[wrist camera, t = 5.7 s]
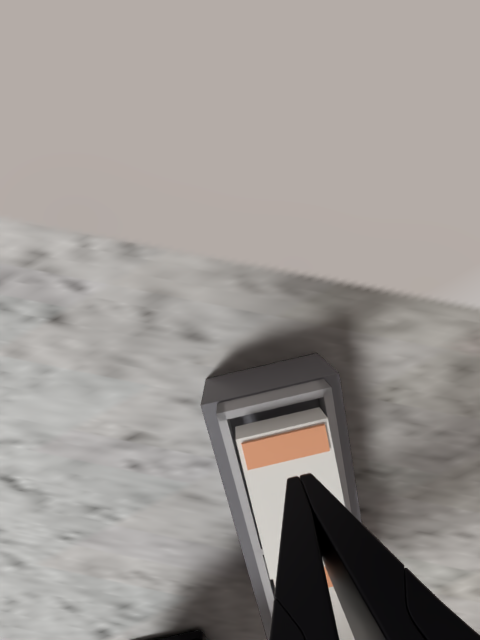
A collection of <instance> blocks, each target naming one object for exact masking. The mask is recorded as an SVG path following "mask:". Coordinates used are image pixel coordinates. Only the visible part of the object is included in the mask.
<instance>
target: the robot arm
mask: <svg viewBox="0 0 480 640" xmlns="http://www.w3.org/2000/svg"><path fill="white" fill-rule="evenodd" d="M322 559H323V560H322ZM323 562H324V564H323ZM324 565H325V567H326V570H327V572H328V575H329V577H330V580H331V582H332V585H333V587H334V589H335V592H336V594H337V597H338V599H339V602H340V604H341V607H342V609H343V612H344V614H345V617H346V619H347V621H348V624H349V626H350V629H351V631H352V634H353V636H354V639H355V640H480V635H479V634H478V633H476V632H475V631H474V630H473V629H472V628H471V627H470V626H468V625H467V624H466V623H465V622H464V621H463V620H462V619H460V618H459V617H458V616H457V615H456V614H455V613H454V612H453V611H451V610H450V609H449V608H448V607H447V606H446V605H445V604H444V603H443V602H442V601H441V600H439V599H438V598H437V597H436V596H435V595H434V594H433V593H432V592H431V591H430V590H429V589H428V588H427V587H426V586H425V585H424V584H423V583H422V582H421V581H420V580H419V579H418V578H417V577H416V576H415V575H414V574H413V573H412V572H411V571H410V570H409V569H407V568H404V565H403V564H402V563H401V562H400V561H399V560H398V559H397V558H396V557H395V556H394V555H393V554H392V553H391V552H390V551H389V550H388V549H387V548H386V547H385V546H384V545H383V544H382V543H381V542H380V541H379V540H378V539H377V538H376V537H375V536H374V535H373V534H372V533H371V532H370V531H369V530H368V529H367V528H366V527H365V526H364V525H363V524H362V523H361V522H360V521H359V520H358V519H357V518H356V517H355V516H354V515H353V514H352V513H351V512H350V511H349V510H348V509H347V508H346V507H345V506H344V505H343V504H342V503H341V502H340V501H339V500H338V499H337V498H336V497H335V496H334V495H333V494H332V493H331V492H330V491H329V490H328V489H327V488H326V487H325V486H324V485H323V484H322V483H321V482H320V481H319V480H318V479H317V478H316V477H315V476H314V475H313V474H311V473H307V474H303V475H300V477H299V476H294V477H290V478H288V479H287V483H286V492H285V501H284V511H283V520H282V529H281V538H280V548H279V557H278V566H277V576H276V585H275V594H274V597H275V599H274V602H273V611H272V620H271V627H270V635H269V640H339V635H338V631H337V626H336V621H335V616H334V612H333V607H332V602H331V597H330V593H329V588H328V583H327V578H326V574H325V569H324ZM160 640H206V638H205V635H204V633H203V632H202V631H193V632H189V633H185V634H181V635H176V636H172V637H168V638H164V639H160Z"/></svg>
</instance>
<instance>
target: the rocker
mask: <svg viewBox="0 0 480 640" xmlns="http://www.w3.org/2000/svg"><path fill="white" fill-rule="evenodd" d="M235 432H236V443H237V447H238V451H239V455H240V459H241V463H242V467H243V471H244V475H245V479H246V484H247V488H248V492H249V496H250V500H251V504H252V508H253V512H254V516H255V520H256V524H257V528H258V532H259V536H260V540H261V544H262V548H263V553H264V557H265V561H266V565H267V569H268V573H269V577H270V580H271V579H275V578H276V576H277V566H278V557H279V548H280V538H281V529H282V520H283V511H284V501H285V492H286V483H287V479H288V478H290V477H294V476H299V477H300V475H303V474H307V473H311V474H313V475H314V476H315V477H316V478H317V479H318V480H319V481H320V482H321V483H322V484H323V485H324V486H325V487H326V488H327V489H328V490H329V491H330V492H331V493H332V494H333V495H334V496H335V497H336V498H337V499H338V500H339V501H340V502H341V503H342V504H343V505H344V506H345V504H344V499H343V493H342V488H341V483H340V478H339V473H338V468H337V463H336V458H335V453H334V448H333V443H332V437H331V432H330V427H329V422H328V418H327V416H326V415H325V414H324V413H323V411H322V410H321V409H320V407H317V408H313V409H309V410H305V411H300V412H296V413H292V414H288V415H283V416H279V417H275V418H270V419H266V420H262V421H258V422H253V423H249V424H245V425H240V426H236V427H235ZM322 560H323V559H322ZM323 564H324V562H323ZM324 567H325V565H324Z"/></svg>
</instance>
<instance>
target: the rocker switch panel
mask: <svg viewBox="0 0 480 640" xmlns="http://www.w3.org/2000/svg"><path fill="white" fill-rule="evenodd" d="M317 407H320V409H321V410H322V411H323V413H324V414H325V415H326V416H327V418H328V422H329V427H330V432H331V437H332V443H333V448H334V453H335V458H336V463H337V468H338V473H339V478H340V483H341V488H342V493H343V499H344V504H345V507H346V508H347V509H348V510H349V511H350V512H351V513H352V514H353V515H354V516H355V517H356V518H357V519H358V520H359V521H360V522H361V515H360V508H359V502H358V495H357V488H356V482H355V475H354V468H353V462H352V455H351V448H350V442H349V435H348V428H347V422H346V415H345V408H344V402H343V395H342V388H341V382H340V375H339V372H337V371H336V370H335V369H334V368H333V367H332V366H331V365H330V364H329V363H328V362H326V361H325V360H324V359H323V358H322V357H321V356H320V355H319V354H318V353H316V354H311V355H307V356H303V357H298V358H294V359H290V360H285V361H281V362H277V363H272V364H268V365H264V366H260V367H255V368H251V369H247V370H242V371H238V372H234V373H229V374H225V375H221V376H216V377H212V378H208V379H206V381H205V386H204V391H203V396H202V401H201V408H202V412H203V416H204V419H205V423H206V426H207V430H208V433H209V437H210V440H211V444H212V447H213V451H214V454H215V458H216V461H217V465H218V468H219V472H220V475H221V479H222V482H223V486H224V489H225V493H226V496H227V500H228V503H229V507H230V510H231V514H232V517H233V521H234V524H235V528H236V531H237V535H238V538H239V542H240V546H241V549H242V553H243V556H244V560H245V563H246V567H247V570H248V574H249V577H250V581H251V584H252V588H253V591H254V595H255V598H256V602H257V605H258V609H259V612H260V616H261V619H262V623H263V626H264V630H265V633H266V637H267V640H269V635H270V627H271V620H272V611H273V602H274V599H275V597H274V594H275V585H274V581H273V579H271V580H270V577H269V573H268V569H267V565H266V561H265V557H264V553H263V548H262V544H261V540H260V536H259V532H258V528H257V524H256V520H255V516H254V512H253V508H252V504H251V500H250V496H249V492H248V488H247V484H246V479H245V475H244V471H243V467H242V463H241V459H240V455H239V451H238V447H237V443H236V432H235V427H236V426H240V425H245V424H249V423H253V422H258V421H262V420H266V419H270V418H275V417H279V416H283V415H288V414H292V413H296V412H300V411H305V410H309V409H313V408H317ZM361 523H362V522H361Z"/></svg>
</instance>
